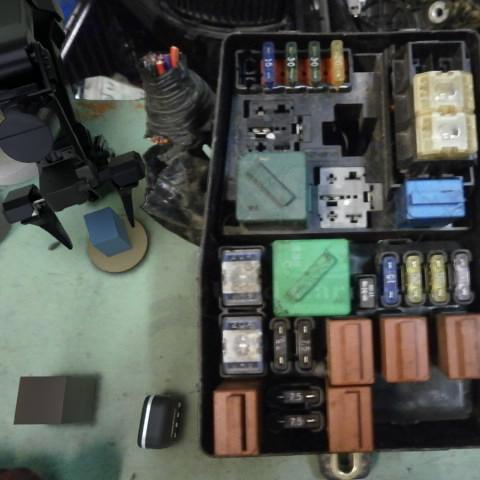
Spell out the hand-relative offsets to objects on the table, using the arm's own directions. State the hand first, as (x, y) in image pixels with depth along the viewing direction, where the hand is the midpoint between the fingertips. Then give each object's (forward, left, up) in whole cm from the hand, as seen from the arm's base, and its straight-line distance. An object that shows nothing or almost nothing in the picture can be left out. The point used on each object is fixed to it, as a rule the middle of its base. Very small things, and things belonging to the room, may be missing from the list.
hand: (103, 237), depth 79 cm
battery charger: (+27, -7, -9) cm, 29 cm away
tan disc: (-1, 0, -9) cm, 9 cm away
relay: (-2, +1, -8) cm, 8 cm away
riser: (+16, -17, -9) cm, 25 cm away
